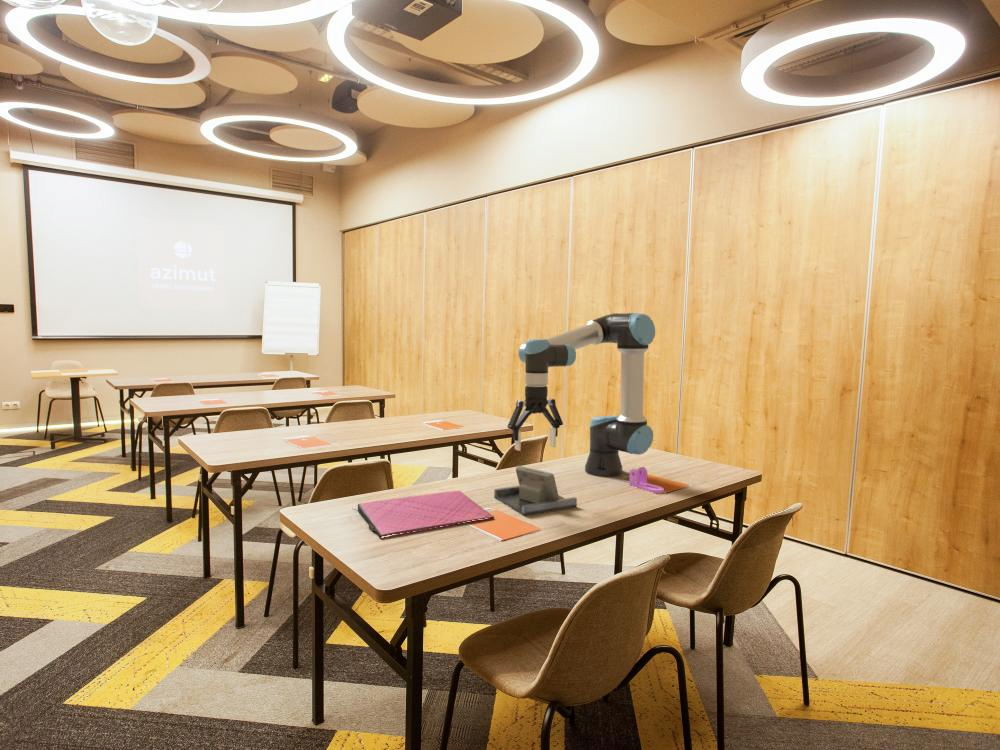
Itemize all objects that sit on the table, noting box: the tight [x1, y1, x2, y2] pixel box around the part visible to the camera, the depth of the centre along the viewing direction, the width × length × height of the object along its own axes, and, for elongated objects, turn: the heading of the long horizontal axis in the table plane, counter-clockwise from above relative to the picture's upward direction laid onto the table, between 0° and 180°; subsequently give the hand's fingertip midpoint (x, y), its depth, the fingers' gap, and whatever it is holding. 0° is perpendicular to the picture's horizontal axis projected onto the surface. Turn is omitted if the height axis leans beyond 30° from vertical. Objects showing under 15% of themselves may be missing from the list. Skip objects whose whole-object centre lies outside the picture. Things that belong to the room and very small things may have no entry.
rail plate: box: [493, 485, 578, 517], centre depth 192 cm, size 20×21×3 cm
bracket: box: [628, 466, 665, 494], centre depth 208 cm, size 13×6×7 cm, turn 35°
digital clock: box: [515, 465, 560, 503], centre depth 191 cm, size 16×9×11 cm, turn 36°
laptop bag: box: [353, 490, 495, 539], centre depth 177 cm, size 40×4×27 cm
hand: (535, 448), depth 190 cm, fingers open, 13 cm apart
